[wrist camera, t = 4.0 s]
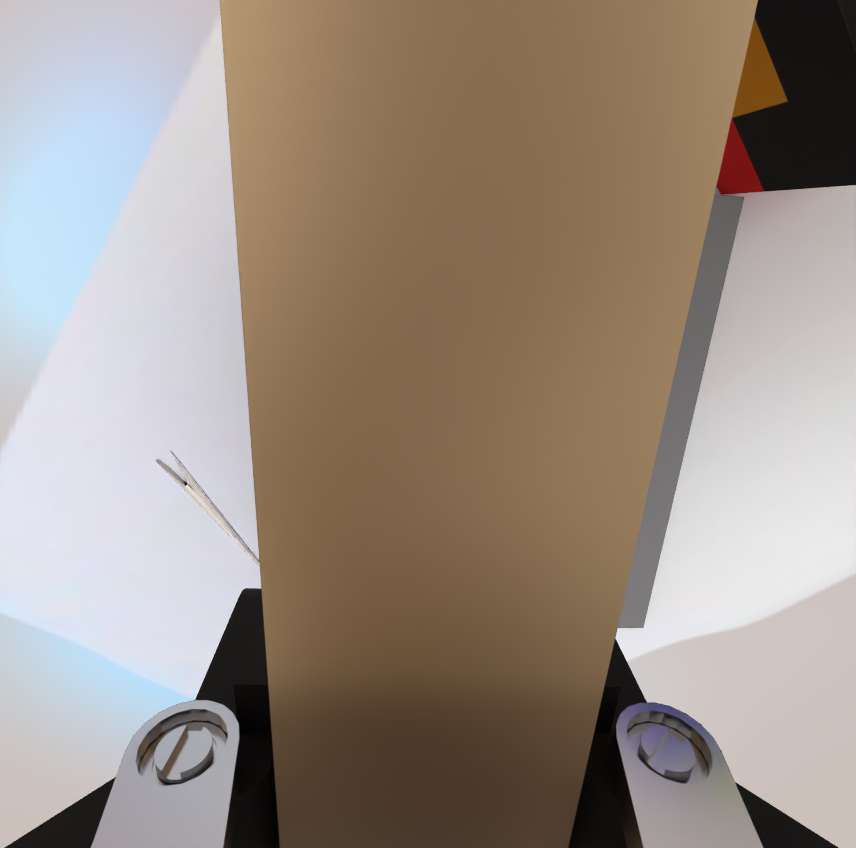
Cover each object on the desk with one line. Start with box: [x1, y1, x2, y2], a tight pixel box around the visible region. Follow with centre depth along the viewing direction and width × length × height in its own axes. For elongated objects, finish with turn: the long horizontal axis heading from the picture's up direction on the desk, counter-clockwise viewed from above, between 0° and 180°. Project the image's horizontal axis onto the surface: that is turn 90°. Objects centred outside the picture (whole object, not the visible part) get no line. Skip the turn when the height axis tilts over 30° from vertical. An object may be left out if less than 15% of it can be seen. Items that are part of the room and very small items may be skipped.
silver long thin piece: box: [156, 452, 260, 566], centre depth 32 cm, size 4×1×19 cm
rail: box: [220, 0, 758, 848], centre depth 8 cm, size 4×22×4 cm, turn 177°
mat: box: [618, 195, 744, 628], centre depth 30 cm, size 8×25×1 cm, turn 177°
